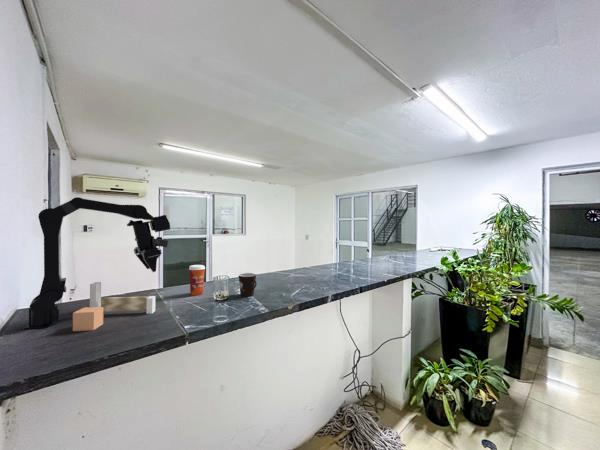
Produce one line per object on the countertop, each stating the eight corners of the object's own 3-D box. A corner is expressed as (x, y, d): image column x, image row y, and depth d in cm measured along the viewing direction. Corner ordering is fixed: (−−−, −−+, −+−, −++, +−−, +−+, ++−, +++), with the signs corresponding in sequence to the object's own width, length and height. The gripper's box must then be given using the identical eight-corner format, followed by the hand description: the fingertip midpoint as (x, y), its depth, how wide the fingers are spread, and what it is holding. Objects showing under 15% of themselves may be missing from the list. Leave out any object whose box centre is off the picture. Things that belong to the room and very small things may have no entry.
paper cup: (193, 297, 116) (193, 267, 116) (185, 294, 121) (185, 265, 121) (208, 293, 122) (208, 265, 122) (199, 290, 127) (200, 264, 127)
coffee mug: (237, 292, 124) (238, 273, 124) (254, 291, 127) (255, 272, 127) (239, 299, 113) (239, 278, 113) (257, 298, 116) (258, 277, 116)
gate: (101, 311, 93) (101, 298, 93) (102, 310, 94) (103, 297, 94) (146, 309, 95) (146, 297, 95) (147, 308, 96) (147, 296, 96)
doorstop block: (72, 331, 79) (72, 312, 79) (83, 324, 84) (83, 307, 84) (93, 330, 80) (93, 312, 80) (103, 323, 85) (103, 306, 85)
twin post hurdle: (89, 316, 91) (90, 284, 91) (94, 313, 94) (95, 282, 94) (152, 313, 95) (152, 282, 95) (155, 310, 98) (155, 281, 98)
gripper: (170, 231, 101) (178, 267, 103) (157, 230, 114) (164, 261, 117) (140, 237, 93) (149, 276, 96) (129, 235, 107) (138, 269, 109)
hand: (151, 270), depth 104 cm, fingers open, 9 cm apart
